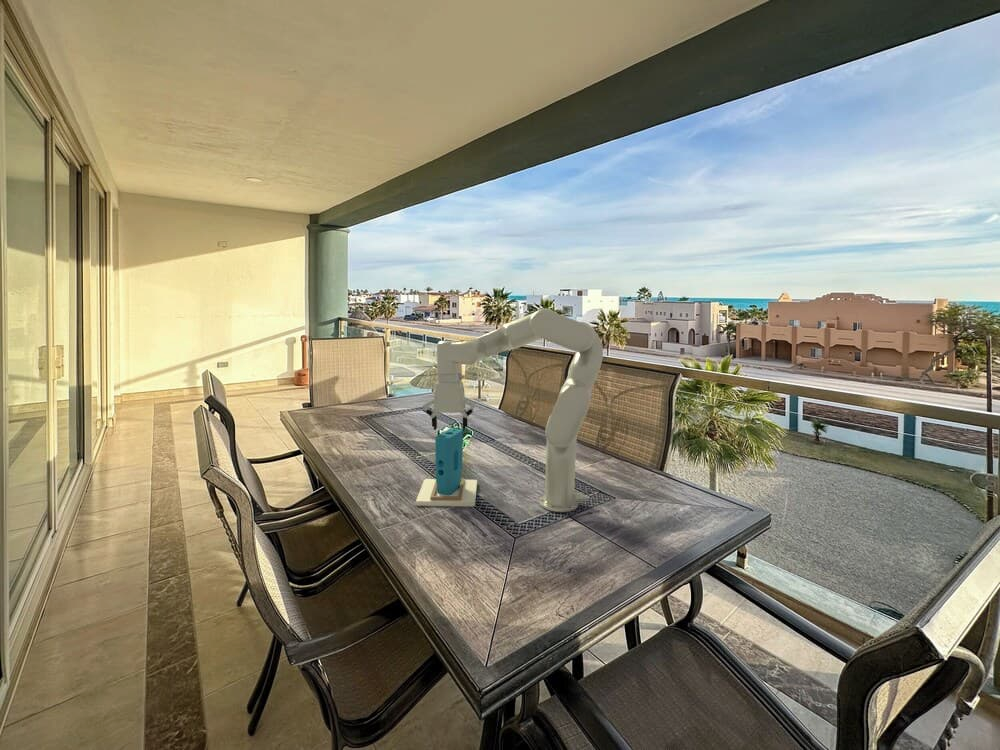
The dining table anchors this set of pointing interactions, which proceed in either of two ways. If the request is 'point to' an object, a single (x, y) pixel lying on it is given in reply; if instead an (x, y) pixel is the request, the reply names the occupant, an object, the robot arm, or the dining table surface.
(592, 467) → the dining table surface
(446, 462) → the block
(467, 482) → the base board
